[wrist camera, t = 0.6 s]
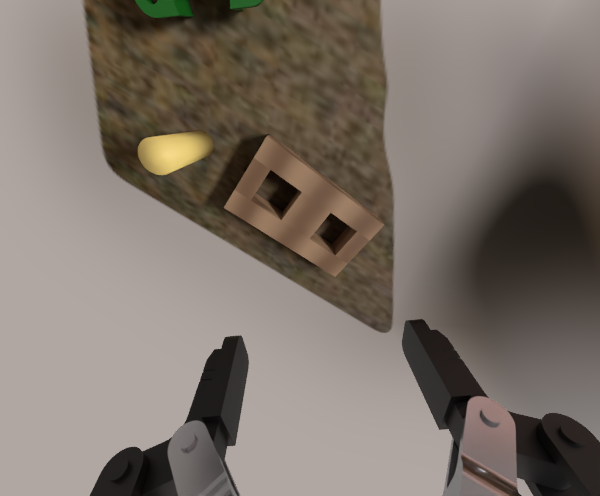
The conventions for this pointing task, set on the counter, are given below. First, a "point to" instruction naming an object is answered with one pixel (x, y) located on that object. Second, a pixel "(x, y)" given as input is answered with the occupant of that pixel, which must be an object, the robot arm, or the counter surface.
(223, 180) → the counter surface
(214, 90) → the counter surface
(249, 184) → the hole block
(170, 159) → the peg
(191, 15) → the clamp
